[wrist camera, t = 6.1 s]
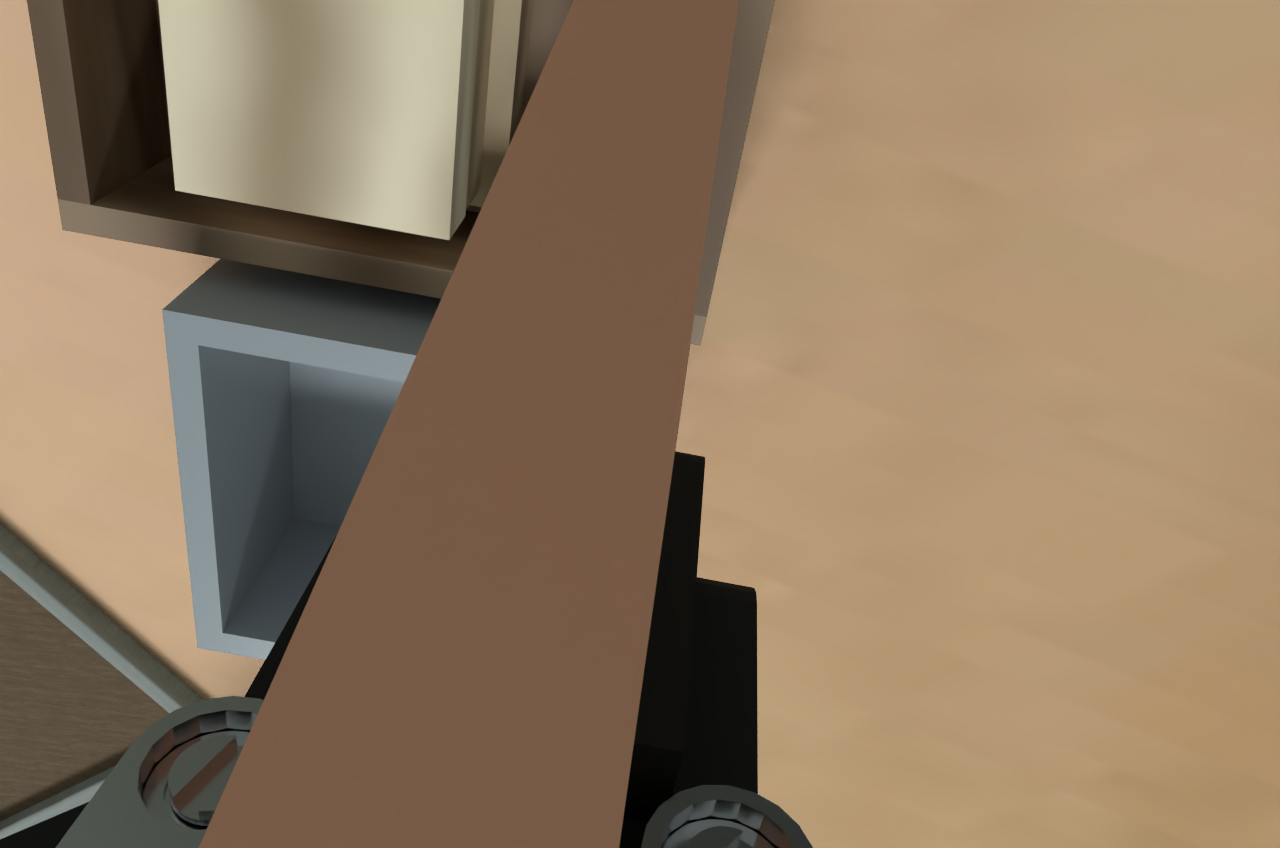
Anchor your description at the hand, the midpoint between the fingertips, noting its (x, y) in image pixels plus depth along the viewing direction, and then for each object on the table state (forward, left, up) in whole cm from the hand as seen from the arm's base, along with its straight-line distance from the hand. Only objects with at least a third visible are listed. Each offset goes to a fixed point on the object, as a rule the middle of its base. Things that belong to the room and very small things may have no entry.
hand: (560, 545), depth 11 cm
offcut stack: (+10, 0, -24) cm, 26 cm away
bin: (+7, +15, -25) cm, 30 cm away
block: (0, -1, -8) cm, 8 cm away
